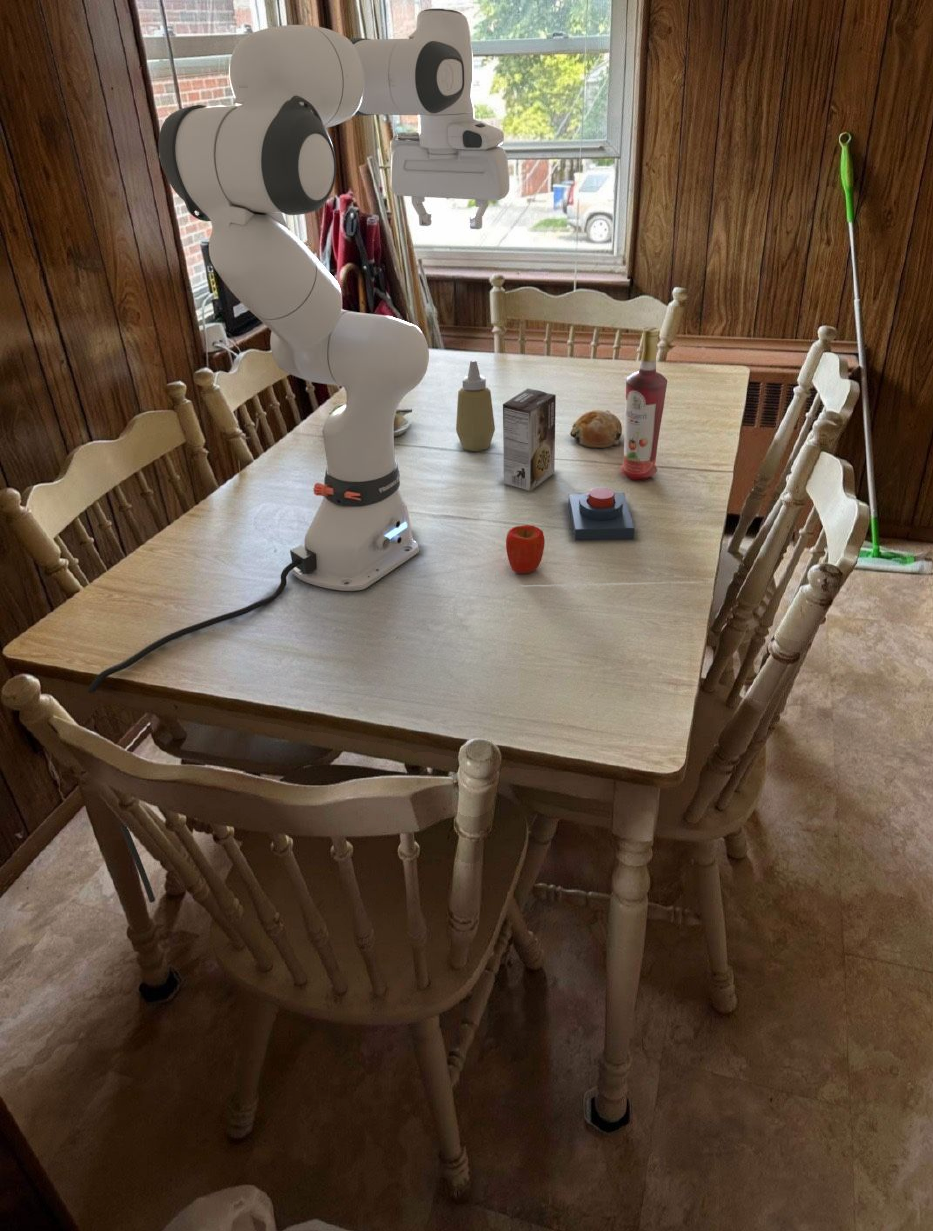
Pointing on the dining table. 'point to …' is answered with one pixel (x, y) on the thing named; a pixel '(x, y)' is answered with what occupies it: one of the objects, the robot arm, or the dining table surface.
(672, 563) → the dining table surface
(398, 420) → the salad plate
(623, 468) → the liquor
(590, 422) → the bread roll
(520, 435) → the coffee box
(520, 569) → the apple
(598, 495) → the lid button
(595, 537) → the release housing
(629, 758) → the dining table surface
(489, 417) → the squeeze bottle
